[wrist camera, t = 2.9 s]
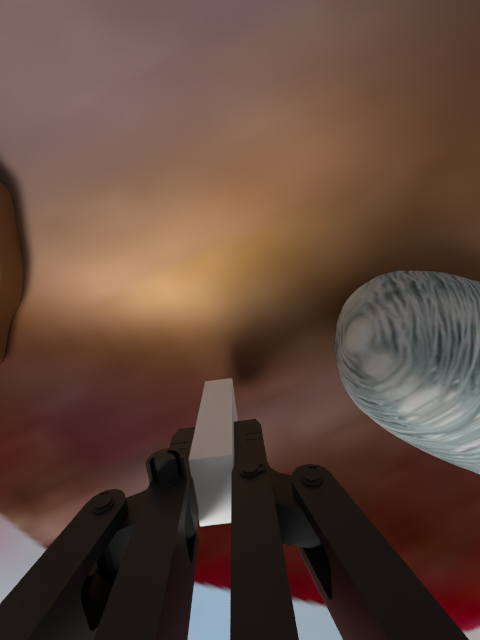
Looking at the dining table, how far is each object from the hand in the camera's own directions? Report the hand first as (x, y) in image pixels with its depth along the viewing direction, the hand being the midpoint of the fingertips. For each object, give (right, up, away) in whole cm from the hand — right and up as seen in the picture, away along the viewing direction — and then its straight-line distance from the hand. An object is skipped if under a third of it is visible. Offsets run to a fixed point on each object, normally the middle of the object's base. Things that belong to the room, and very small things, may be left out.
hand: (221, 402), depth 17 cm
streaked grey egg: (+12, +3, +3) cm, 13 cm away
